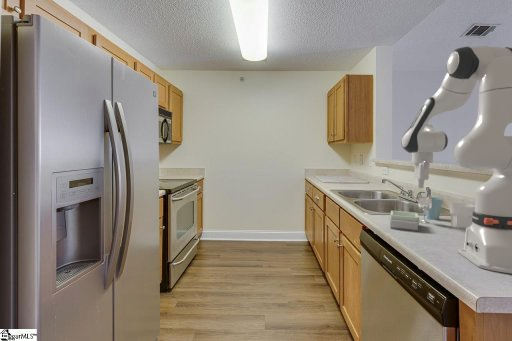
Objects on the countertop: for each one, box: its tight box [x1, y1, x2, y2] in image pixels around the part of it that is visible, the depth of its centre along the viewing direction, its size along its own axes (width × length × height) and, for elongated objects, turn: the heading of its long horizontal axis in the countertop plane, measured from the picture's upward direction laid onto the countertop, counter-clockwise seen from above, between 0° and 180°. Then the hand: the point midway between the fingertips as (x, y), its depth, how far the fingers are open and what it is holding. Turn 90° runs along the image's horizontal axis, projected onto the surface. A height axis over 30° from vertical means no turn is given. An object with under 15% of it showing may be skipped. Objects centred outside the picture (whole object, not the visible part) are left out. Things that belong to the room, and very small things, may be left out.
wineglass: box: [417, 196, 432, 224], centre depth 146 cm, size 6×6×12 cm
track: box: [389, 216, 420, 232], centre depth 141 cm, size 23×11×4 cm, turn 157°
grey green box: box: [390, 210, 420, 227], centre depth 138 cm, size 12×11×5 cm
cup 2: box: [449, 202, 475, 229], centre depth 139 cm, size 10×10×10 cm
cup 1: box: [425, 196, 443, 221], centre depth 155 cm, size 8×8×10 cm
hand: (420, 187), depth 146 cm, fingers closed
